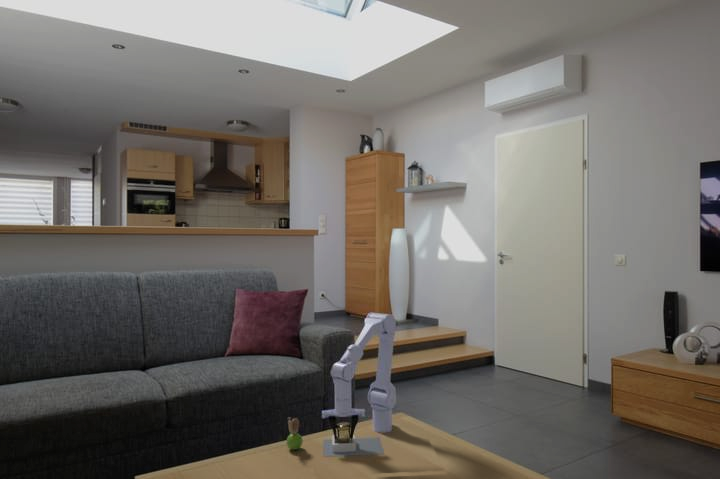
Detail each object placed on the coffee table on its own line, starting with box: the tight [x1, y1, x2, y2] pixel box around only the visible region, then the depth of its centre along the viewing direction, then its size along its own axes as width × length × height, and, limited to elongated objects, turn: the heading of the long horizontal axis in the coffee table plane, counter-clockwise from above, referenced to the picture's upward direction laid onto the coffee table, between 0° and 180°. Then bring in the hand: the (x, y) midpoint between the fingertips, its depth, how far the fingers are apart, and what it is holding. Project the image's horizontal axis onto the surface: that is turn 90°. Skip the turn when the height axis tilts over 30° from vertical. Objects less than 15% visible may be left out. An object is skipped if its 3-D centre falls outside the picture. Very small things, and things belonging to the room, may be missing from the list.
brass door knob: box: [336, 421, 351, 444], centre depth 169 cm, size 5×5×6 cm
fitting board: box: [322, 434, 385, 458], centre depth 169 cm, size 14×20×4 cm
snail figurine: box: [286, 417, 304, 451], centre depth 170 cm, size 5×6×12 cm
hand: (343, 437), depth 169 cm, fingers closed on brass door knob, 5 cm apart
